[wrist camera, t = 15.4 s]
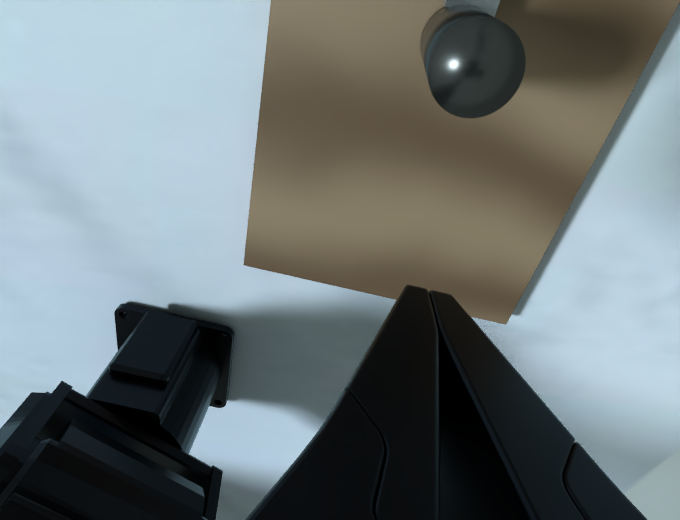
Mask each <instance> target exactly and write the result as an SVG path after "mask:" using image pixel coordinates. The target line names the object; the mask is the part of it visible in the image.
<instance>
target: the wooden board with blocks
mask: <svg viewBox="0 0 680 520" xmlns="http://www.w3.org/2000/svg"><path fill="white" fill-rule="evenodd" d="M442 3H443V0H271V6H270V16H269V26H268V35H267V45H266V55H265V64H264V74H263V84H262V93H261V103H260V112H259V122H258V132H257V141H256V151H255V161H254V170H253V180H252V190H251V199H250V209H249V219H248V228H247V238H246V247H245V257H244V265H246V266H250V267H254V268H259V269H263V270H268V271H272V272H277V273H281V274H285V275H290V276H294V277H299V278H303V279H307V280H312V281H316V282H321V283H325V284H329V285H334V286H338V287H343V288H347V289H352V290H356V291H360V292H365V293H369V294H374V295H378V296H382V297H387V298H391V299H396V300H397V299H398V297H399V296H400V294H401V292H402V290H403V289H404V287H405V286H406V285H413V286H418V287H422V288H426V289H427V290H428V292H429V291H430V290H435V291H439V292H444V293H448V294H451V295H452V296H453V297H454V298H455V299H456V300H457V302H458V303H459V304H460V305H461V306H462V307H463V309H464V310H465V311H466V312H467V313H468V314H469V316H471V317H475V318H479V319H484V320H488V321H493V322H497V323H502V324H506V323H507V322H508V320H509V318H510V316H511V314H512V312H513V310H514V309H515V307H516V305H517V303H518V301H519V299H520V298H521V296H522V294H523V292H524V290H525V288H526V286H527V285H528V283H529V281H530V279H531V277H532V275H533V273H534V272H535V270H536V268H537V266H538V264H539V262H540V260H541V259H542V257H543V255H544V253H545V251H546V249H547V247H548V246H549V244H550V242H551V240H552V238H553V236H554V234H555V233H556V231H557V229H558V227H559V225H560V223H561V221H562V220H563V218H564V216H565V214H566V212H567V210H568V209H569V207H570V205H571V203H572V201H573V199H574V197H575V196H576V194H577V192H578V190H579V188H580V186H581V184H582V183H583V181H584V179H585V177H586V175H587V173H588V171H589V170H590V168H591V166H592V164H593V162H594V160H595V158H596V157H597V155H598V153H599V151H600V149H601V147H602V145H603V144H604V142H605V140H606V138H607V136H608V134H609V132H610V131H611V129H612V127H613V125H614V123H615V121H616V119H617V118H618V116H619V114H620V112H621V110H622V108H623V107H624V105H625V103H626V101H627V99H628V97H629V95H630V94H631V92H632V90H633V88H634V86H635V84H636V82H637V81H638V79H639V77H640V75H641V73H642V71H643V69H644V68H645V66H646V64H647V62H648V60H649V58H650V56H651V55H652V53H653V51H654V49H655V47H656V45H657V43H658V42H659V40H660V38H661V36H662V34H663V32H664V30H665V29H666V27H667V25H668V23H669V21H670V19H671V17H672V16H673V14H674V12H675V10H676V8H677V6H678V5H679V3H680V0H500V3H499V5H498V8H497V11H496V14H495V18H497V19H498V20H500V21H502V22H503V23H505V24H507V25H508V26H509V27H511V28H512V29H513V30H514V31H515V32H516V34H517V35H518V36H519V38H520V40H521V42H522V44H523V47H524V51H525V58H526V65H525V72H524V76H523V79H522V82H521V84H520V86H519V88H518V90H517V92H516V93H515V95H514V96H513V97H512V98H511V99H510V100H509V102H508V103H507V104H505V105H504V106H503V107H502V108H500V109H499V110H497V111H496V112H494V113H492V114H489V115H487V116H484V117H479V118H462V117H458V116H454V115H452V114H450V113H448V112H447V111H445V110H444V109H443V108H442V107H441V106H440V105H439V104H438V103H437V102H436V100H435V99H434V97H433V95H432V93H431V90H430V87H429V83H428V79H427V75H426V71H425V67H424V64H423V60H422V56H421V51H420V39H421V34H422V31H423V28H424V26H425V24H426V22H427V21H428V19H429V18H430V17H431V16H432V15H433V14H434V13H435V12H436V11H437V10H438V9H440V8H442V7H443V5H442Z"/></svg>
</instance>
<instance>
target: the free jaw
mask: <svg viewBox="0 0 680 520" xmlns="http://www.w3.org/2000/svg"><path fill="white" fill-rule="evenodd" d="M499 3H500V0H443V3H442V5H443V7H442V8H440V9H438V10H437V11H436V12H435V13H434V14H433V15H432V16H431V17H430V18H429V19H428V21H427V22H426V24H425V26H424V28H423V31H422V34H421V39H420V51H421V56H422V60H423V64H424V67H425V71H426V75H427V79H428V83H429V87H430V90H431V93H432V95H433V97H434V99H435V100H436V102H437V103H438V104H439V105H440V106H441V107H442V108H443V109H444V110H445V111H447V112H448V113H450V114H452V115H454V116H458V117H462V118H479V117H484V116H487V115H489V114H492V113H494V112H496V111H497V110H499V109H500V108H502V107H503V106H504V105H505V104H507V103H508V102H509V100H510V99H511V98H512V97H513V96H514V95H515V93H516V92H517V90H518V88H519V86H520V84H521V82H522V79H523V76H524V72H525V65H526V58H525V51H524V47H523V44H522V42H521V40H520V38H519V36H518V35H517V34H516V32H515V31H514V30H513V29H512V28H511V27H509V26H508V25H507V24H505V23H503V22H502V21H500V20H498V19H497V18H495V14H496V11H497V8H498V5H499Z"/></svg>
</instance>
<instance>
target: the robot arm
mask: <svg viewBox="0 0 680 520" xmlns="http://www.w3.org/2000/svg"><path fill="white" fill-rule="evenodd" d="M124 312H125V313H124ZM115 324H116V334H117V345H118V352H117V353H116V355H115V356H114V357H113V359H112V360H111V362H110V363H109V364H108V366H107V367H106V369H105V370H104V371H103V373H102V374H101V376H100V377H99V378H98V380H97V381H96V383H95V384H94V385H93V387H92V388H91V390H90V391H89V392H88V394H87V395H86V397H85V396H84V395H82V394H80V393H78V392H76V391H75V390H73V389H72V386H70V385H68V384H67V383H65V382H63V381H61V383H60V384H59V385H58V386H57V388H56V389H55V390H54V391H53V393H52V394H51V393H49V392H46V393H33V392H32V393H31V394H30V395H29V396H28V397H27V398H26V400H25V401H24V402H23V403H22V404H21V405H20V407H19V408H18V409H17V410H16V411H15V413H14V414H13V415H12V416H11V417H10V418H9V420H8V421H7V422H6V423H5V424H4V425H3V426H2V427H1V429H0V520H215V519H216V512H217V505H218V499H219V492H220V485H221V479H222V470H220V469H219V468H217V467H215V466H209V465H207V464H205V463H204V462H202V461H200V460H198V459H197V458H195V457H193V456H191V455H189V452H190V450H191V447H192V445H193V442H194V440H195V438H196V435H197V433H198V431H199V428H200V426H201V424H202V421H203V419H204V416H205V414H206V412H207V409H208V407H209V406H213V407H217V408H222V407H224V406H225V405H226V403H227V400H228V393H229V383H230V373H231V363H232V353H233V343H234V331H233V330H232V329H231V328H230V327H227V326H224V325H219V324H215V323H210V322H206V321H201V320H197V319H192V318H188V317H183V316H179V315H174V314H170V313H165V312H161V311H157V310H152V309H148V308H143V307H139V306H134V305H130V304H120V305H119V307H118V308H117V309H116V310H115ZM222 334H224V335H226V336H224V335H222ZM574 441H575V439H574V437H573V436H572V435H571V434H570V432H569V431H568V430H567V429H566V428H565V427H564V425H563V424H562V423H561V422H560V421H559V420H558V418H557V417H556V416H555V415H554V414H553V413H552V411H551V410H550V409H549V408H548V407H547V406H546V404H545V403H544V402H543V401H542V400H541V399H540V397H539V396H538V395H537V394H536V393H535V392H534V390H533V389H532V388H531V387H530V386H529V385H528V383H527V382H526V381H525V380H524V379H523V378H522V376H521V375H520V374H519V373H518V372H517V371H516V369H515V368H514V367H513V366H512V365H511V364H510V362H509V361H508V360H507V359H506V358H505V356H504V355H503V354H502V353H501V352H500V351H499V349H498V348H497V347H496V346H495V345H494V344H493V342H492V341H491V340H490V339H489V338H488V337H487V335H486V334H485V333H484V332H483V331H482V330H481V328H480V327H479V326H478V325H477V324H476V323H475V321H474V320H473V319H472V318H471V317H470V316H469V314H468V313H467V312H466V311H465V310H464V309H463V307H462V306H461V305H460V304H459V303H458V302H457V300H456V299H455V298H454V297H453V296H452V295H451V294H448V293H444V292H439V291H435V290H430V291H429V292H428V290H427V289H426V288H422V287H418V286H413V285H406V286H405V287H404V289H403V290H402V292H401V294H400V296H399V297H398V299H397V301H396V302H395V304H394V306H393V307H392V309H391V311H390V313H389V314H388V316H387V318H386V319H385V321H384V323H383V325H382V326H381V328H380V330H379V331H378V333H377V335H376V337H375V338H374V340H373V342H372V343H371V345H370V347H369V348H368V350H367V352H366V354H365V355H364V357H363V359H362V360H361V362H360V364H359V366H358V367H357V369H356V371H355V372H354V374H353V376H352V378H351V379H350V381H349V383H348V384H347V386H346V388H345V390H344V391H343V392H342V394H341V396H340V397H339V399H338V401H337V403H336V404H335V406H334V408H333V409H332V411H331V412H330V414H329V415H328V417H327V418H326V420H325V422H324V423H323V425H322V426H321V428H320V429H319V431H318V432H317V433H316V435H315V436H314V437H313V439H312V440H311V441H310V442H309V444H308V445H307V446H306V448H305V449H304V450H303V451H302V453H301V454H300V455H299V457H298V458H297V459H296V460H295V461H294V463H293V464H292V465H291V466H290V467H289V469H288V470H287V471H286V472H285V473H284V475H283V476H282V477H281V478H280V479H279V480H278V482H277V483H276V484H275V485H274V486H273V488H272V489H271V490H270V491H269V492H268V494H267V495H266V496H265V497H264V498H263V499H262V501H261V502H260V503H259V504H258V505H257V507H256V508H255V509H254V510H253V511H252V513H251V514H250V515H249V516H248V517H247V518H246V520H647V519H646V518H645V517H644V515H643V514H642V513H641V512H640V511H639V510H638V509H637V508H636V507H635V506H634V505H633V504H632V503H631V502H630V501H629V500H628V499H627V498H626V496H625V495H624V494H623V493H622V492H621V491H620V490H619V489H618V487H617V486H616V485H615V484H614V483H613V482H612V481H611V480H610V478H609V477H608V476H607V475H606V474H605V473H604V472H603V471H602V469H601V468H600V467H599V466H598V465H597V464H596V463H595V461H594V460H593V459H592V458H591V457H590V456H589V454H588V453H587V452H586V451H585V450H584V449H583V447H582V446H581V445H580V444H579V443H577V442H575V443H574Z"/></svg>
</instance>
